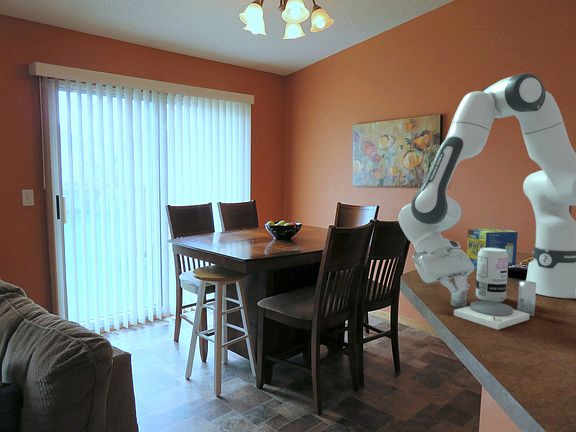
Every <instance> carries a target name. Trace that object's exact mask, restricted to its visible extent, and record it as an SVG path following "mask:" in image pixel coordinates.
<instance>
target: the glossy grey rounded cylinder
mask: <svg viewBox="0 0 576 432" xmlns="http://www.w3.org/2000/svg"><path fill="white" fill-rule="evenodd" d="M468 276H469V275H467V276H466V275H461V274H453V275H452V278H451V283H452V284H455V285H456V286H457V288H458V290H457V291H456V292H454V293H451V292H450V293H451V294H450V297H451V298H450V305H451V306H453V307H456V308H463V307H467V298H468V297H467V295H468V294H467V293H468V289H467V282H468V279H469V278H468Z"/></svg>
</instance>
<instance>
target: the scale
mask: <svg viewBox="0 0 576 432" xmlns="http://www.w3.org/2000/svg"><path fill="white" fill-rule="evenodd" d="M453 316H454V317H457V318H460V319H463V320H467V321H469V322H473V323H476V324H477V325H478V324H479V325H481V326H485V327H488V328H491V329H495V330H497V331H498V330H502V329H504V328H507V327H510V326H513V325H516V324H519V323H523V322H525V321H529V320H530V316H529V314H528V313H525V312H521V311H517V309H514V307H512V306H511V305H509V304H506V303H504V302H503V303H502V302H494V301H484V300H474V301H471V302H470V304H469V305H468V306H467V305H466V307H458V308H456V309H454V310H453Z"/></svg>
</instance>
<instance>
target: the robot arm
mask: <svg viewBox="0 0 576 432" xmlns="http://www.w3.org/2000/svg"><path fill="white" fill-rule="evenodd" d="M512 116H514V117H515V118H516V119H517V120H518V122H519V126H520V130H521V134H522V137H523V138H522V139H523V141H524V144H525V147H526V150H527V154H528V156H529V158H530V159H531V160H532V161H533V162H535V163H536V164H537V165H538V166H539V167H540V169H541V170H538V171H536V172H535V171H534V172H533V173H530V174H529V175H527V176H526V178H525V179H524V181H523V184H522V188H523V193H524V195H525V196H526V198H527V199H528V200H529V201H530V204H531V206H532V211H533V214H534V216H535V217H534V218H535V245H534V246H533V250H532V258H533V259H532V260H531V261H530V262H528V268H527V272H526V273H527V274H526V279H525V281H531V282H535V283H536V294H537V295H541V296H545V297H553V298H557V299H558V298H561V299H576V220H575V219H574V218H573V217H572V215H571V213H570V210H569V207H568V206H572V207H573V206H575V207H576V152H575V150H574V148H573V146H572V144H571V142H570V138H569V136H568V133H567V132H568V131H567V128H566V125H565V123H564V119H563V116H562V114H561V110H560V108H559V106H558V104H557V102H556V100H555V98H554V96H553V94H552V93H550V92H549V91H547V90H546V89H545V87H544V84H543V82H542V80H541V79H540V78H539V77H538V76H537V75H535V74H533V73H529V72H528V73H527V72H525V73H523V72H522V73H518V74H515V75H512V76H509V77H506V78H503V79H500V80H499V81H497V82H495V83H493V84H492V85H489V86H486V87H485V88H483V89H482V90H480V91H478V90H475V91H471V92H468V93H467V94H465V95H464V96H463V97H462V99H461V101H460V103H459V105H458V107H457V109H456V111H455V114H454V115H453V118H452V120H451V124H450V127H449V129H448V132H447V135H446V136H445V139H444V140H443V142H442V143H441V145H440V147H439V149H438V150H437V153H436V155H435V157H434V160H433V161H432V164H431V167H430V168H429V171H428V173H427V176H426V178H425V180H424V182H423V184H422V185H421V187H420V188H419V189H418V191H417V192H416V193H415V195H414V196H413V198H412V200H411V202H410V203H408V204H406V205H405V206H404V207H402V209H401V210H400V211H399V212H398V216H397V221H398V223H399V226H400V228H401V230H402V232H403V233H404V236H405V237H406V238H407V240H408V241H410V243H412V245H413V248H414V251H415V252H414V253H413V255H412V261H413V263H414V266H415V269H416V270H417V272H418V275H419V276H420V278H421V279H422V282H424V283H426V284H430V283H435V282H440V284H441V285H442V286H444V287H446V288H447V289H448V290H449V292H450V293H454V292H456V291H457V290H458V288H457V286H456V285H455V284H452V281H450V279H451V280H452V275H453V274H461V275H466V276H469V275H470V274H471V273H472V272H474V271H475V268H474V265H473V263H472V262H471V260H470V259H469V257H468V256H467V252H465V251H464V250H462V249H461V244H460V242H458V241H455V240H452V239H448V238H447V237H443V235H442V234H441V233H443V232H445V231H447V230H449V229H452V228H453V227H455V226H456V225H457V224H458V223H459V222H460V220H461V218H462V215H463V210H462V207H461V204H460V203H459V202H458V201H457V200H455V199H454V198H452V197H450V196H448V191H447V190H448V187H449V185H450V182H451V180H452V178H453V175H454V172H455V170H456V168H457V166H458V165H459V163H460V162H462V161H464V160H466V159H467V160H468V159H472V158H474V157H476V156H477V155H479V154H480V153H482V151H483V149H484V147H485V146H486V143H487V142H488V138H489V135H490V132H491V129H492V125H493V122H494V120H498V119H503V118H509V117H512ZM470 288H471V285H470V284H469V283H468V281H467V290H469V289H470Z"/></svg>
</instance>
